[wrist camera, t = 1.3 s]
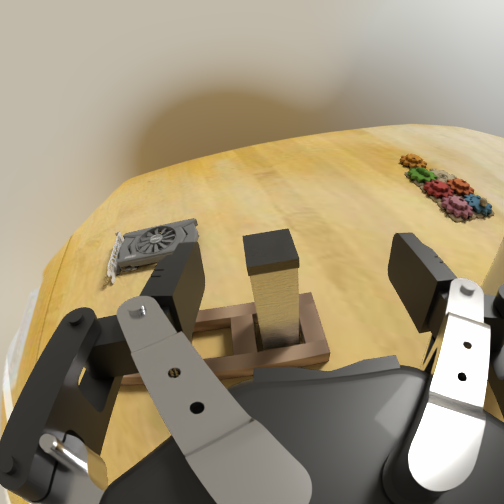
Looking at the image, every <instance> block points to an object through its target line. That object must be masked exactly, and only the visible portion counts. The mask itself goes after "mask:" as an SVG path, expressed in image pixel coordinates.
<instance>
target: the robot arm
mask: <svg viewBox="0 0 504 504" xmlns="http://www.w3.org/2000/svg"><path fill="white" fill-rule="evenodd" d="M388 276H389V280H390V282H391V283H392V285H393V287H394V288H395V290H396V292H397V294H398V295H399V297H400V299H401V301H402V302H403V304H404V306H405V308H406V310H407V311H408V313H409V315H410V317H411V319H412V321H413V322H414V324H415V326H416V328H417V330H418V332H419V333H424V332H429V331H431V333H432V334H431V337H430V339H429V341H428V345H427V348H426V351H425V354H424V358H423V361H422V364H421V366H420V369H418V368H414V367H410V366H404V365H399V362H398V360H397V357H396V355H393V356H387V357H380V358H373V359H366V360H362V361H359V362H357V363H354V364H351V365H348V366H345V367H343V368H340V369H337V370H334V371H319V370H311V369H303V368H296V367H275V368H254V373H253V379H250V380H246V381H243V382H240V383H237V384H235V385H233V386H231V387H229V388H227V389H226V388H225V387H224V386H223V384H222V383H221V382H220V381H219V379H218V378H217V377H216V376H215V374H214V373H213V372H212V371H211V369H210V368H209V367H208V365H207V364H206V363H205V362H204V360H203V359H202V358H201V356H200V355H199V354H198V352H197V351H196V350H195V348H194V347H193V346H192V344H191V343H190V341H191V337H192V333H193V330H194V326H195V322H196V318H197V315H198V311H199V307H200V304H201V300H202V297H203V293H204V289H205V275H204V269H203V264H202V259H201V253H200V248H199V244H198V242H181V243H178V245H177V247H176V248H175V250H174V252H173V254H172V255H167V256H165V257H164V258H163V259H162V260H160V261H159V262H158V264H157V266H156V267H155V269H154V271H153V272H152V274H151V277H150V278H149V280H148V281H147V283H146V285H145V287H144V288H143V290H142V292H141V294H140V296H137V297H134V298H131V299H129V300H127V301H125V302H124V303H123V304H122V305H121V306H120V307H119V308H118V310H117V315H113V316H108V317H103V318H98V319H97V317H96V315H95V313H94V311H93V310H92V309H90V308H86V307H83V308H78V309H75V310H73V311H71V312H70V313H68V314H67V315H66V316H65V317H64V318H63V319H62V321H61V322H60V324H59V326H58V327H57V329H56V330H55V332H54V334H53V335H52V337H51V339H50V340H49V342H48V344H47V345H46V347H45V349H44V351H43V352H42V354H41V356H40V358H39V360H38V361H37V363H36V365H35V367H34V369H33V371H32V372H31V374H30V376H29V378H28V380H27V382H26V384H25V386H24V388H23V390H22V392H21V394H20V396H19V398H18V400H17V402H16V405H15V407H14V409H13V411H12V413H11V416H10V418H9V420H8V423H7V425H6V427H5V430H4V432H3V435H2V437H1V440H0V484H1V485H2V486H3V487H4V488H6V489H8V490H9V491H11V492H13V493H15V494H17V495H18V496H20V497H22V498H23V499H24V500H26V501H28V502H30V503H32V504H504V423H503V422H502V421H500V420H499V419H497V418H496V417H494V416H493V415H491V414H490V413H488V412H487V411H485V410H484V409H483V403H484V397H485V391H486V383H487V379H488V381H489V383H490V385H491V388H492V390H493V392H494V395H495V397H496V399H497V402H498V404H499V407H500V410H501V412H502V415H503V417H504V238H503V240H502V243H501V245H500V247H499V250H498V252H497V254H496V256H495V259H494V261H493V263H492V265H491V267H490V269H489V271H488V273H487V275H486V277H485V279H484V281H483V283H482V285H481V287H480V286H479V285H478V284H476V283H475V282H473V281H471V280H469V279H466V278H457V277H456V276H455V275H454V273H453V272H452V271H451V270H450V269H449V268H448V266H447V265H446V264H445V263H443V261H442V260H441V258H440V257H438V255H437V254H436V253H435V252H434V251H433V250H432V249H431V248H429V247H428V246H426V245H424V244H423V243H422V242H421V241H420V240H419V239H418V238H417V237H416V236H415V235H414V234H413V233H396V234H395V235H394V237H393V241H392V247H391V253H390V259H389V264H388ZM83 367H85V368H86V371H85V373H84V375H83V378H82V380H81V382H80V385H78V380H79V376H80V374H81V371H82V369H83ZM136 373H140V375H141V378H142V380H143V382H144V384H145V386H146V388H147V390H148V392H149V394H150V396H151V398H152V400H153V402H154V404H155V406H156V407H157V409H158V411H159V413H160V415H161V417H162V419H163V420H164V422H165V424H166V426H167V427H168V429H169V431H170V433H171V434H172V435H171V436H170V437H169V438H168V439H167V440H165V441H164V442H163V443H162V444H161V445H159V446H158V447H157V448H156V449H154V450H153V451H152V452H151V453H149V454H148V455H147V456H146V457H144V458H143V459H142V460H141V461H139V462H138V463H137V464H136V465H134V466H133V467H132V468H130V469H129V470H128V471H126V472H125V473H124V474H122V475H121V476H120V477H118V478H117V479H116V480H115V481H113V482H112V483H111V484H110V485H109V486H108V477H107V467H106V464H105V462H104V461H103V459H102V458H101V457H100V454H101V450H102V446H103V442H104V439H105V435H106V431H107V428H108V424H109V421H110V417H111V414H112V410H113V407H114V404H115V401H116V397H117V394H118V391H119V388H120V385H121V382H122V379H123V376H124V375H130V374H136Z"/></svg>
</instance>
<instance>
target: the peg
mask: <svg viewBox="0 0 504 504" xmlns="http://www.w3.org/2000/svg"><path fill="white" fill-rule="evenodd" d="M243 243H244V250H245V258H246V265H247V271H248V276H250V280H251V285H252V290H253V296H254V301H255V306H256V311H257V316H258V322H259V327H260V332H261V337H262V342H263V347H264V351H266V350H272V349H278V348H283V347H289V346H294V345H299V291H298V268H299V257H298V254H297V251H296V248H295V245H294V242H293V240H292V237H291V234H290V231H289V229H282V230H276V231H270V232H264V233H258V234H252V235H246V236H243Z"/></svg>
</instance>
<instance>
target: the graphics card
mask: <svg viewBox="0 0 504 504" xmlns="http://www.w3.org/2000/svg"><path fill="white" fill-rule="evenodd" d="M197 225H198V224H197V221H196V219H194V218H193V219H188V220H184V221H179V222H174V223H170V224H165V225H160V226H156V227H151V228H147V229H143V230H138V231H134V232H130V233H126V234H125V235H123V237H124V239H125V240H123V238H122V236H121V233H120V232H117V233H115V234H116V236H117V239H116V242H115V245H114V248H113V251H112V254H111V257H110V260H109V263H108V267H107V270H108V272H107V275H108V276H109V278H110V275H111V276H112V280H111V282H112V283H113V284H114V281H115V278H116V275H118V274H120V270H123V269H121V267H126V266H129V265H130V266H131V267H133V268H128V269H125V270H126V271H129V270H131V269H132V270H136V268H137V266H141V265H146V264H150V263H155V262H159V261H160V260H162V259H163V258H164V257H165V256H167V255H172V254H173V252H174V250H175V248H176V247H177V245H178V243H181V242H197V240H198V237H199V235H198V232H197V229H196V226H197ZM159 232H161V233H159ZM186 234H187V235H186ZM119 237H120V238H119ZM117 241H118V242H117ZM116 244H117V245H118V247H117V246H116ZM119 244H120V245H119ZM115 247H117V252H116V248H115ZM139 248H140V250H139ZM114 251H115V252H116V255H115V254H114ZM113 255H114V256H115V258H116V259H115V258H114V257H113ZM112 259H113V260H115V263H114V262H113V261H112ZM110 262H111V263H110ZM110 264H111V265H110ZM112 265H113V266H112ZM110 266H111V267H110ZM109 267H110V268H111V269H110V268H109ZM112 267H113V268H112ZM109 269H110V270H109ZM125 270H123V271H125Z"/></svg>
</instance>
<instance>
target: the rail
mask: <svg viewBox="0 0 504 504" xmlns="http://www.w3.org/2000/svg"><path fill="white" fill-rule="evenodd" d="M255 323H259V322H258V316H257V311H256V306H255V302H252V303H246V304H240V305H233V306H227V307H220V308H213V309H206V310H199V311H198V315H197V318H196V322H195V326H194V330H193V332H198V331H206V330H214V329H221V328H228V327H231V331H232V344H233V356H225V357H217V358H208V359H203V360H204V362H205V363H206V364H207V365H208V367H209V368H210V369H211V371H212V372H213V373H214V374H215V376H216V377H217V378H218V379H227V378H236V377H243V376H251V375H253V373H254V368H275V367H296V368H298V367H303V366H308V365H313V364H317V363H322V362H326V361H329V357H330V350H329V347H328V343H327V340H326V337H325V334H324V331H323V327H322V324H321V321H320V318H319V315H318V312H317V309H316V306H315V303H314V300H313V297H312V294H311V292H309V293H304V294H299V328H300V332H301V336H302V340H303V344H299V345H294V346H289V347H283V348H278V349H272V350H266V351H260V352H258V350H257V342H256V335H255V328H254V324H255ZM190 343H191V344H192V337H191V341H190ZM138 384H144V382H143V380H142V378H141V375H140V373H136V374H130V375H124V376H123V379H122V382H121V385H138Z"/></svg>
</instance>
